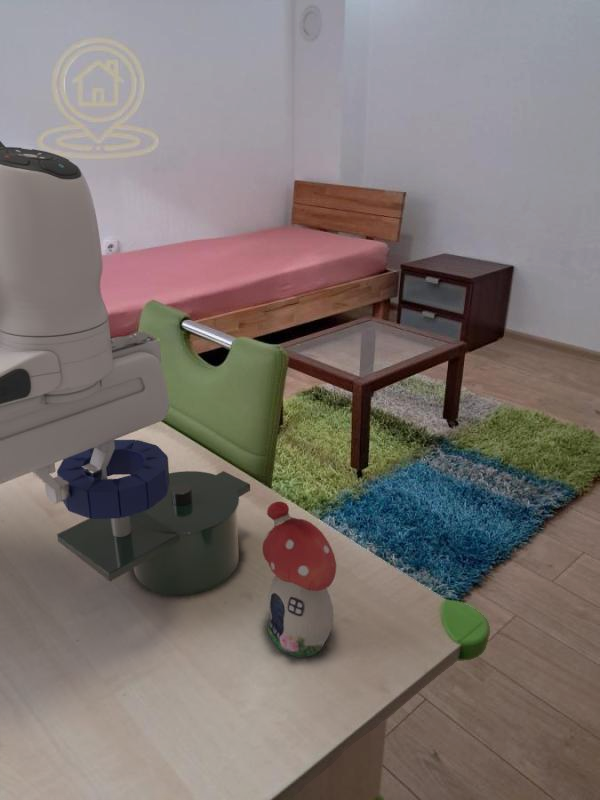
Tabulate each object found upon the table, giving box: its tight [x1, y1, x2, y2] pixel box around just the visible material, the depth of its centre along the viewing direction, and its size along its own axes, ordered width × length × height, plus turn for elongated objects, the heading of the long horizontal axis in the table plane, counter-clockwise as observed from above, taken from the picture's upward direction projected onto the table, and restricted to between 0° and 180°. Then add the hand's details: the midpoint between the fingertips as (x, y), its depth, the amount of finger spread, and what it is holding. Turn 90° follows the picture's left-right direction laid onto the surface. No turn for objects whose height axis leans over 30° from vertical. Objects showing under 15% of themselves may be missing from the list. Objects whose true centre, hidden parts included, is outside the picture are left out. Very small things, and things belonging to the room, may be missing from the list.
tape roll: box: [56, 439, 170, 519], centre depth 63 cm, size 10×10×3 cm
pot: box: [56, 470, 251, 596], centre depth 75 cm, size 22×14×13 cm, turn 139°
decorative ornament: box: [262, 501, 337, 659], centre depth 66 cm, size 9×7×15 cm
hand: (78, 490), depth 60 cm, fingers closed on tape roll, 2 cm apart
